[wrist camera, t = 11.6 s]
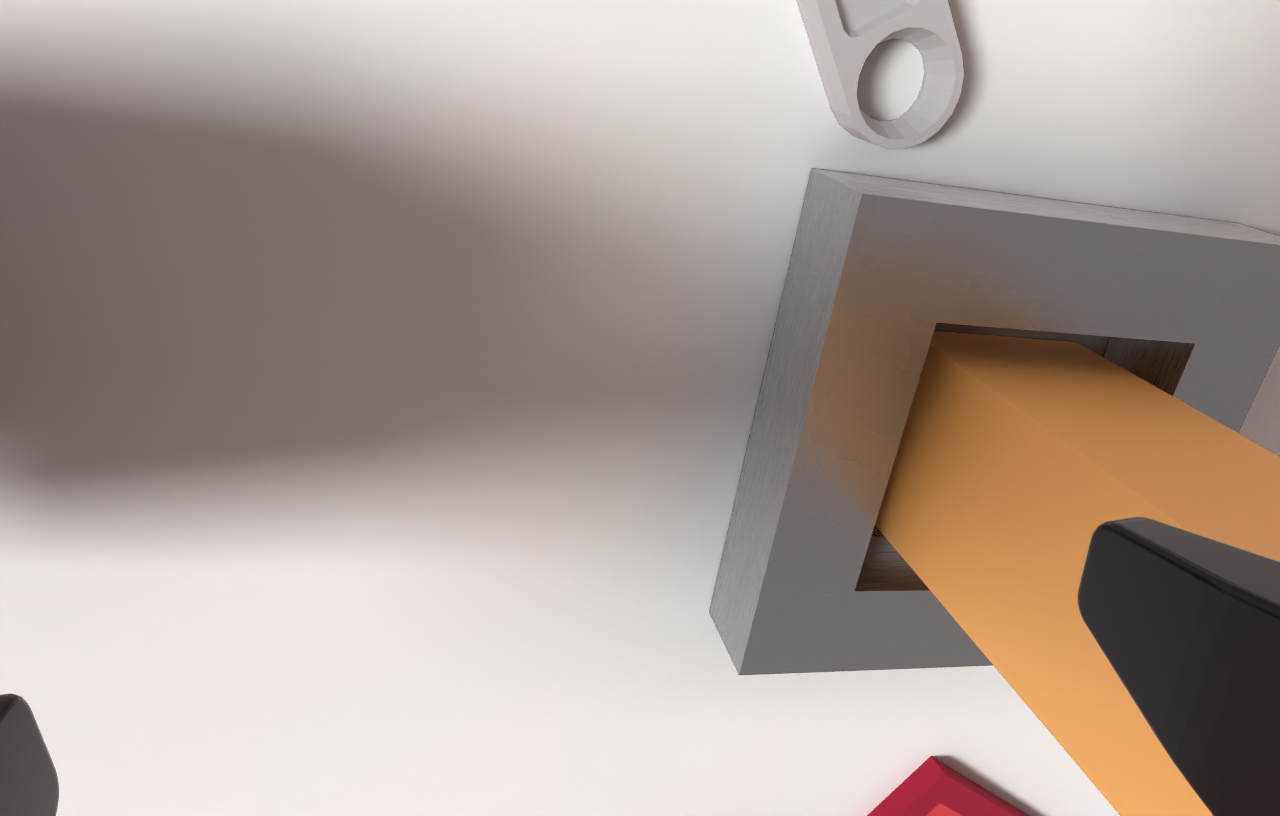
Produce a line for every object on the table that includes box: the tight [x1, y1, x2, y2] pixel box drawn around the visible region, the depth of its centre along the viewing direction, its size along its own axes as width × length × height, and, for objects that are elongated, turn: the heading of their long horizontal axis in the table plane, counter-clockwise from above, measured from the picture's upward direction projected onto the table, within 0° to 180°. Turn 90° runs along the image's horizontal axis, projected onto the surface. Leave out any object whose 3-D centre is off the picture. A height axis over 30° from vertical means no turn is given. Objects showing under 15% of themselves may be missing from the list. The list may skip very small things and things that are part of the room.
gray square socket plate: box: [709, 168, 1280, 675], centre depth 23 cm, size 12×12×2 cm
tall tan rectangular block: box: [875, 331, 1280, 816], centre depth 19 cm, size 5×5×12 cm
